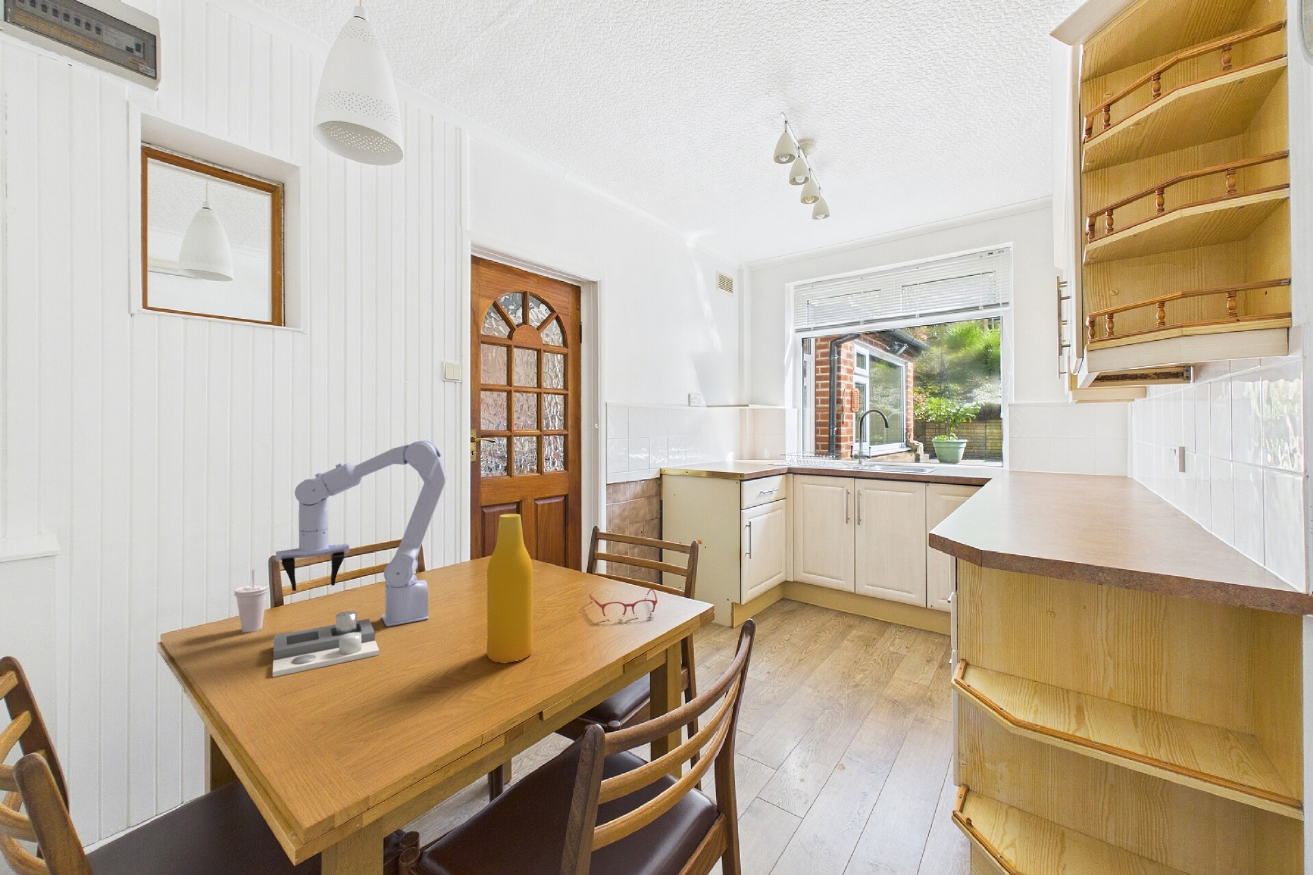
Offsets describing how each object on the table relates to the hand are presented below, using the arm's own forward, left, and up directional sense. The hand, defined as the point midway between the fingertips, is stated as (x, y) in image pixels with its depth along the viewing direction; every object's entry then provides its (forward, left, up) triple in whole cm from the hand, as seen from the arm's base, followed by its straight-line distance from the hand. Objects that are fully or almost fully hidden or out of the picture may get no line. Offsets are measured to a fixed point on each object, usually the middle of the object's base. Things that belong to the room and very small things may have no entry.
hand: (313, 587), depth 127 cm
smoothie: (+12, -6, -10) cm, 16 cm away
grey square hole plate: (-2, +14, -9) cm, 17 cm away
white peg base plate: (-2, +23, -9) cm, 25 cm away
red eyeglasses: (-67, +30, -10) cm, 74 cm away
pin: (-6, +14, -9) cm, 18 cm away
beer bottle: (-33, +41, -10) cm, 53 cm away
